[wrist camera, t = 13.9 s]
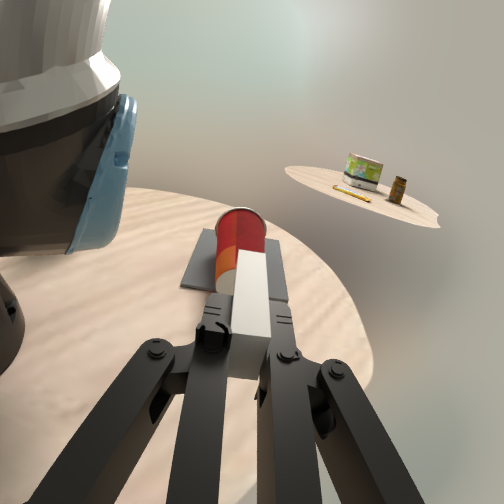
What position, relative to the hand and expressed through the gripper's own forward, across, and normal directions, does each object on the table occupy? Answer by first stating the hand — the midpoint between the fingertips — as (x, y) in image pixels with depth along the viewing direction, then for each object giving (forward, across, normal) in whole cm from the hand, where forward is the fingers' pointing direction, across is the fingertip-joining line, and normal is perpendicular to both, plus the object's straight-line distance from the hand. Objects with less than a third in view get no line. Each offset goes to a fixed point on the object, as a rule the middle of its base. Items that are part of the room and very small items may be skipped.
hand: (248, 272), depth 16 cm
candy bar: (+90, +41, -14) cm, 100 cm away
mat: (+24, 0, -13) cm, 28 cm away
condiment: (+97, +66, -13) cm, 118 cm away
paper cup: (+13, 0, -10) cm, 16 cm away
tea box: (+114, +54, -13) cm, 127 cm away
